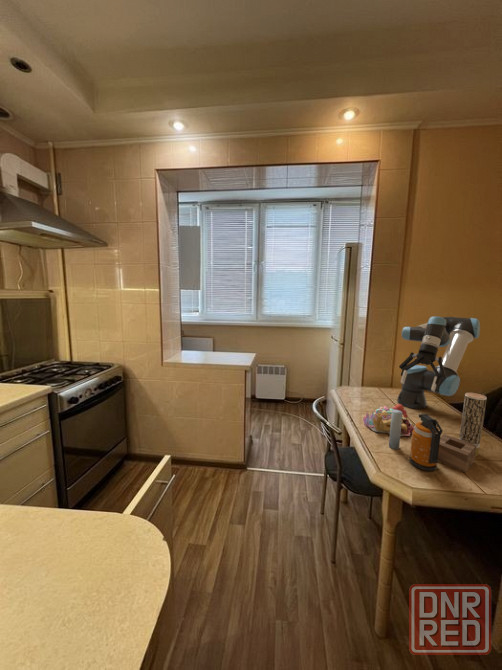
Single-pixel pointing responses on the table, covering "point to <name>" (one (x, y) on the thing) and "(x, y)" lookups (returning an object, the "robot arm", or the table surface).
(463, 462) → the hollow walnut box
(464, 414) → the bark covered log
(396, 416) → the dowel
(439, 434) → the canister
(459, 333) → the robot arm
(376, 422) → the candy landscape model
